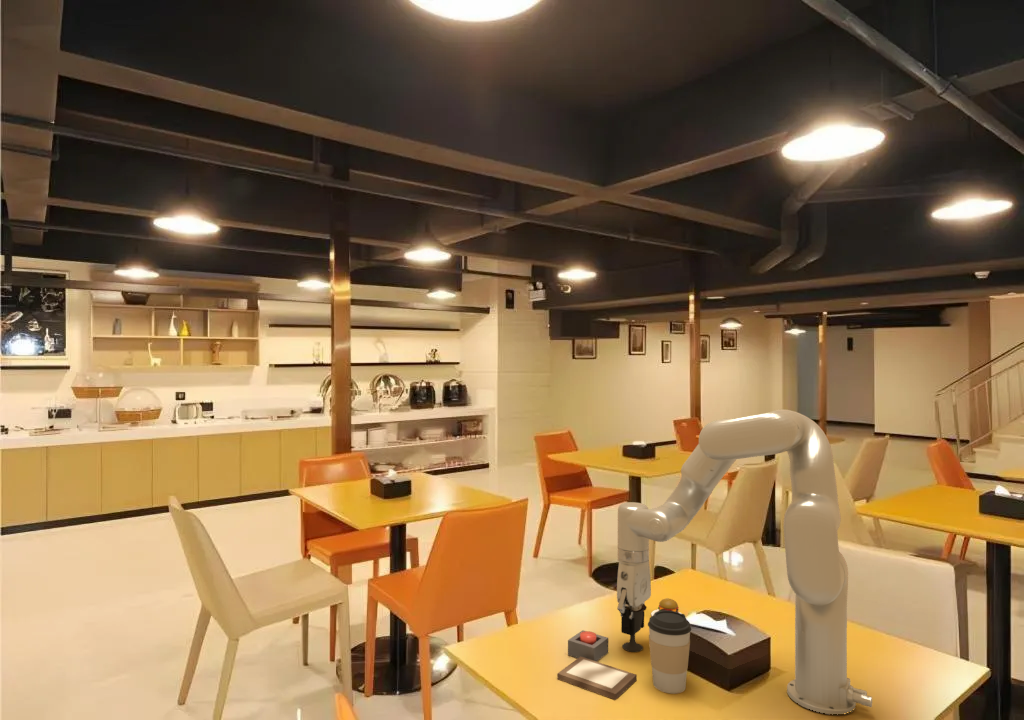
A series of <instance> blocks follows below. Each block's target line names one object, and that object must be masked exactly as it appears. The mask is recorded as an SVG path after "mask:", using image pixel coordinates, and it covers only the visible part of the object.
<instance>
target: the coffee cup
mask: <svg viewBox="0 0 1024 720" xmlns="http://www.w3.org/2000/svg"><path fill="white" fill-rule="evenodd" d="M678 612H679V611H678ZM678 612H675V611H669V610H662V611H657V612H655V613H654V615H653V616H650V617H649V621H648V623H647V627H648V631H649V632H648V633H649V634H648V641H649V642H648V643H649V654H650V666H651V670H652V672H651V673H652V684H653V686H654V688H655V689H657V690H658V691H660V692H663V693H667V694H672V695H673V694H681V693H683V692H684V691H685V690H686V688H687V687H686V684H687V673H688V672H687V670H688V666H689V658H690V657H689V656H690V646H691V639H690V635H691V631H692V627H691V623H690V621H689V620H688V619H687V617H686V614H685V613H682V614H680V613H681V612H680V613H678Z"/></svg>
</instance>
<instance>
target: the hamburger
mask: <svg viewBox="0 0 1024 720" xmlns="http://www.w3.org/2000/svg"><path fill="white" fill-rule="evenodd" d="M662 610H669V611H675V612H678V613H680V614H683V613H682V612H681V611H680V612H679V605H678V603H677V601H676V600H675V599H673V598H668V597H667V598H662V599H661V600H660V602H659V603H658V607H657V609H655V610H652V611H651V613H650V615H651V616H650V617H652V616H653V615H654V613H655V612H657V611H662Z"/></svg>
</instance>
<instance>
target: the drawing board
mask: <svg viewBox="0 0 1024 720" xmlns="http://www.w3.org/2000/svg"><path fill="white" fill-rule="evenodd" d="M556 674H557V680H560V681H562V682H564V683H568V684H569V685H573V686H576V687H579V688H581V689H584V690H587V691H590V692H592V693H594V694H598V695H601V696H603V697H607V698H609V699H611V700H615V701H616V700H617V699H618V698H620V696H621V695H623V693H625V692H626V691H627V690H628V689H629V688H630V687H631V686H632V685H633V684H635V682H637V678H638V677H637V674H635V673H632V672H630V671H626V670H623V669H620V668H617V667H614V666H611V665H607V664H605V663H602V662H599V661H597V662H596V661H593V660H590V659H587V658H584V657H581V656H580V657H579V658H575V660H573V661H572V662H571V663H570V664H568V665H567V666H565V667H564V668H563V669H561V670H560V671H558V673H556Z"/></svg>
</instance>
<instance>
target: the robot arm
mask: <svg viewBox="0 0 1024 720" xmlns="http://www.w3.org/2000/svg"><path fill="white" fill-rule="evenodd" d="M785 452H786V453H787V454H788V458H789V459H788V460H789V477H790V485H791V486H790V487H791V503H790V504H789V505H788V506H787V508H786V510H785V513H784V514H783V515H784V517H783V539H784V550H785V551H784V552H785V564H786V575H787V579H788V583H789V586H790V588H791V589H792V591H793V593H794V594H795V603H794V605H795V607H794V608H795V609H794V611H795V613H794V629H795V630H794V635H795V636H794V640H795V641H794V645H795V646H794V660H795V661H794V677H795V678H794V679H792V680H790V681H789V682H788V683H787V685H786V693H787V695H788V696H789V698H791V700H792V702H793V701H794V702H795V703H796V704H797V703H798V705H799V706H801V707H803V708H805V709H807V710H809V709H810V710H809V711H812V710H813V711H812V712H815V711H816V712H815V713H819V712H820V713H819V714H823V713H825V715H830V714H832V715H833V714H837V715H836V716H839V715H838V714H844V713H847V712H850V711H852V710H853V709H854V708H855V709H856V707H857V705H856V704H859V705H862V706H865V707H869V708H872V707H873V696H870V695H867V694H868V692H867V690H864V689H862V688H861V689H860V688H855V687H854V685H851V678H850V677H848V676H847V675H848V672H847V671H848V670H847V669H848V667H847V665H848V662H847V661H848V660H847V659H848V657H847V654H848V652H847V649H848V647H847V646H848V645H847V644H848V640H847V639H848V638H847V637H848V636H847V635H848V634H847V633H848V632H847V631H848V592H849V591H848V589H849V588H848V587H849V570H848V569H849V568H848V564H847V562H846V559H845V557H844V555H843V554H842V552H840V549H839V537H838V530H839V529H840V526H841V521H842V518H841V512H840V506H839V505H840V504H839V498H838V496H839V495H838V485H837V479H836V473H835V472H836V471H835V462H834V455H833V450H832V447H831V444H830V441H829V439H828V437H827V434H825V432H824V430H823V429H822V428H821V427H820V425H818V424H817V422H815V421H814V420H812V419H811V418H809V417H808V416H806V415H805V414H802V413H800V412H797V411H795V410H790V409H776V410H775V409H774V410H772V411H769V412H764V413H759V414H753V415H752V414H751V415H748V416H742V417H737V418H720V419H716V420H713V421H710V422H708V423H706V425H704V427H703V428H701V430H700V433H699V436H698V444H697V445H696V446H695V448H694V450H692V452H691V453H690V455H689V456H688V458H687V459H686V460H685V461H684V463H683V464H682V465H681V468H680V474H681V477H680V479H679V481H678V483H677V484H676V485H677V486H676V487H675V488H674V490H673V491H672V493H671V494H670V495H669V497H668V498H667V499H666V500H665V502H664V503H663V504H661V505H659V506H657V507H655V508H650V509H649V507H648V505H646V504H644V503H641V502H634V501H632V502H631V501H630V502H629V501H628V502H626V501H625V502H623V503H621V504H620V505H618V508H617V561H618V569H617V580H616V581H617V582H616V601H617V610H618V612H619V613H620V617H621V629H620V630H621V633H622V634H625V635H629V636H630V635H632V636H633V635H634V634H635V635H636V633H635V618H633V613H634V612H633V611H634V608H636V607H638V606H639V605H641V604H642V603H643V604H644V605H645V602H646V601H648V600H649V599H650V598H651V596H652V585H651V581H652V580H651V568H650V540H651V541H654V542H657V543H664V542H667V541H669V540H671V539H672V538H674V537H675V536H676V535H678V534H680V533H681V532H682V531H684V530H685V529H686V528H687V526H688V525H689V524H690V523H691V521H692V520H694V517H695V516H696V515H697V514H698V512H699V511H700V510H701V508H702V507H703V505H704V504H705V502H706V501H708V498H709V497H710V495H711V494H712V493H713V491H714V490H715V488H716V487H717V485H718V484H719V483H720V481H721V480H722V479H723V478H724V477H725V475H726V474H727V472H728V471H729V470H730V468H731V467H732V466H733V464H735V462H736V461H737V460H741V459H748V458H754V457H755V458H756V457H765V456H772V455H778V454H783V453H785ZM711 496H712V495H711ZM626 601H628V602H629V604H627V603H626ZM645 606H646V605H645ZM625 607H630V612H629V610H628V609H626V608H625ZM644 628H645V611H644V612H643V618H642V625H641V629H644ZM855 706H856V707H855ZM855 709H854V710H855ZM852 712H853V711H852ZM844 715H845V714H844ZM833 716H834V715H833Z"/></svg>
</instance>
